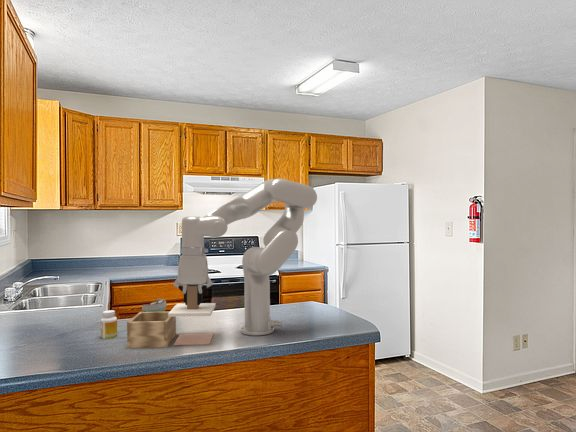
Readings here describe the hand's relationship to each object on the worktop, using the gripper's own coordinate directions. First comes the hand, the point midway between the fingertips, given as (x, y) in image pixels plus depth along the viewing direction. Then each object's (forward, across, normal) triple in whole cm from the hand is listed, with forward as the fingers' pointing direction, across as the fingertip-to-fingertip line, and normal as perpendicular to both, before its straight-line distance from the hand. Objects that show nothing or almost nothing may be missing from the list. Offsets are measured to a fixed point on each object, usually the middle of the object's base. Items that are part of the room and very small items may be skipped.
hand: (193, 303), depth 151 cm
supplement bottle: (+14, +31, -5) cm, 34 cm away
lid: (+3, 0, 0) cm, 3 cm away
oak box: (+13, +14, +1) cm, 19 cm away
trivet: (+13, 0, 0) cm, 13 cm away
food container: (+13, +17, -18) cm, 28 cm away
